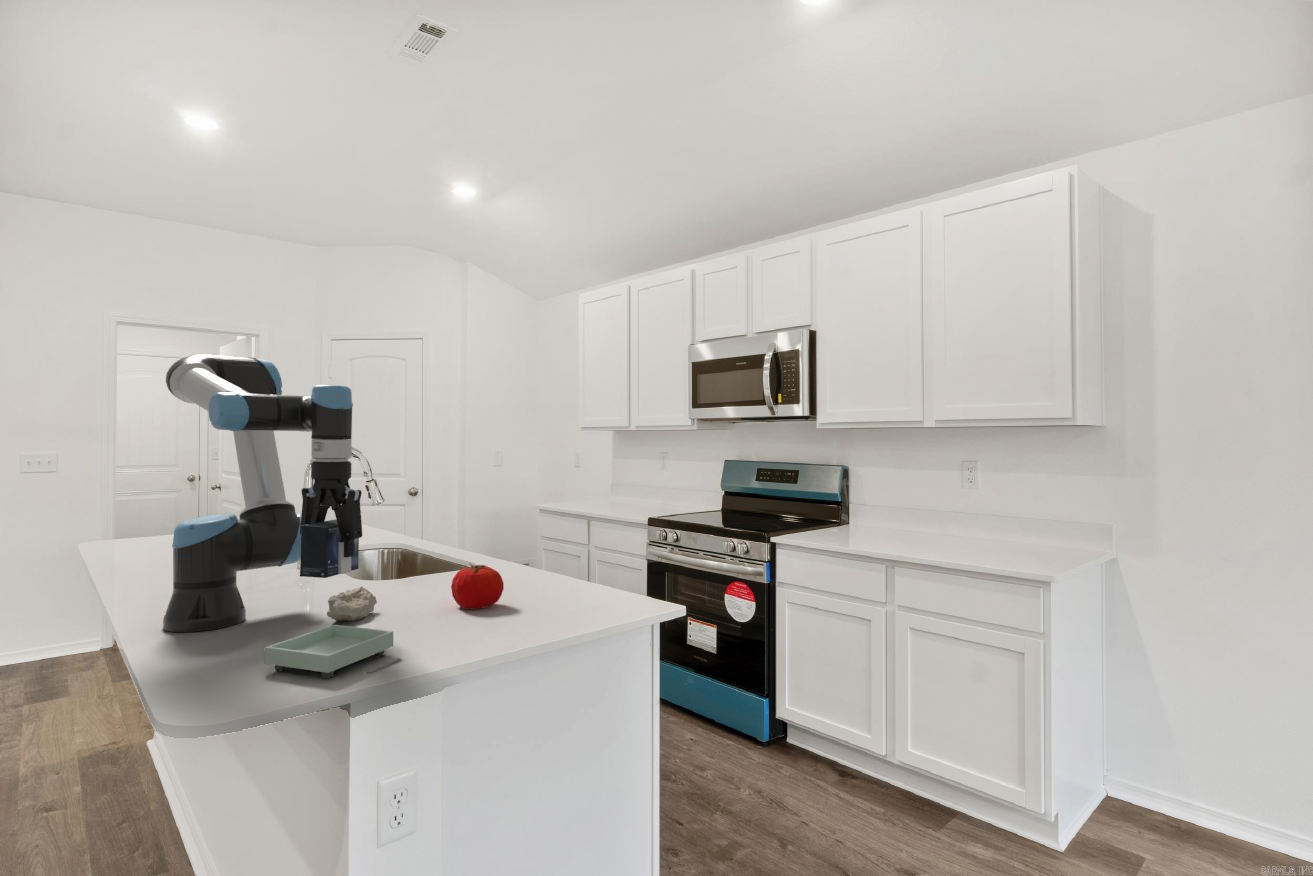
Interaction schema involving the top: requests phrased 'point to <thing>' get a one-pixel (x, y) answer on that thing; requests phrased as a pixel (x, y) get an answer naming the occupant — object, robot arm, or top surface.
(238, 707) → the top surface
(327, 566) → the small box
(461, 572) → the tomato
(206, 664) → the top surface
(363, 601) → the stone
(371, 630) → the green footed tray
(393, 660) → the strip
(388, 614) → the top surface
